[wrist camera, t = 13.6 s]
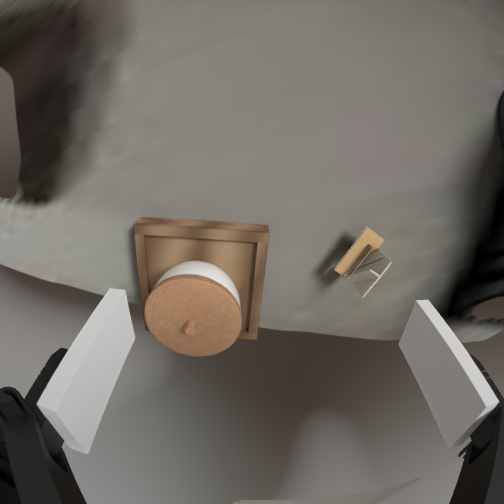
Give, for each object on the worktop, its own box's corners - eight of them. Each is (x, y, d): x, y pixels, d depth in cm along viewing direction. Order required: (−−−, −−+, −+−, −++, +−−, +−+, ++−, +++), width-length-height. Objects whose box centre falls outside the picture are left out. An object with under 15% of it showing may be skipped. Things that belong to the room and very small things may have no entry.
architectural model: (326, 258, 39) (341, 287, 33) (356, 217, 37) (379, 239, 30) (344, 269, 40) (361, 299, 34) (374, 230, 38) (398, 254, 31)
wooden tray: (267, 225, 37) (269, 233, 34) (255, 327, 43) (256, 339, 41) (141, 217, 36) (134, 224, 33) (150, 318, 42) (145, 330, 40)
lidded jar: (144, 274, 37) (120, 317, 28) (208, 230, 35) (196, 267, 26) (195, 329, 41) (185, 378, 32) (258, 294, 39) (262, 342, 30)
